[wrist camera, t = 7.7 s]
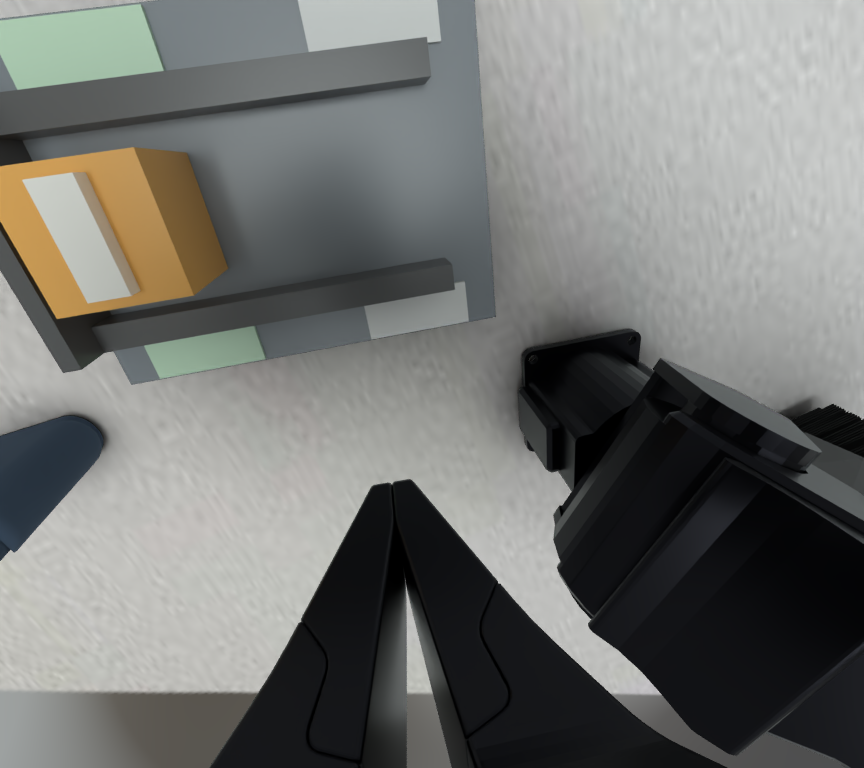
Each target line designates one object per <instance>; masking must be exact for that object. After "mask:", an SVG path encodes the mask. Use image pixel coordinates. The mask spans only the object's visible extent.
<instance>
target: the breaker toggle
mask: <svg viewBox="0 0 864 768" xmlns="http://www.w3.org/2000/svg"><path fill="white" fill-rule="evenodd" d="M0 222H1V223H2V225H3V227H4V229H5V230H6V232H7V234H8V236H9V237H10V239H11V241H12V242H13V244H14V246H15V248H16V249H17V251H18V253H19V255H20V256H21V258H22V260H23V261H24V263H25V265H26V267H27V268H28V270H29V272H30V273H31V275H32V277H33V279H34V280H35V282H36V284H37V286H38V287H39V289H40V291H41V292H42V294H43V296H44V298H45V299H46V301H47V303H48V305H49V306H50V308H51V310H52V311H53V313H54V315H55V317H56V318H57V319H60V318H66V317H72V316H78V315H84V314H89V313H95V312H101V311H107V310H113V309H118V308H124V307H130V306H136V305H142V304H148V303H153V302H159V301H165V300H171V299H177V298H182V297H188V296H194V295H195V294H197V293H198V292H199V291H200V290H202V289H203V288H204V287H205V286H207V285H208V284H209V283H211V282H212V281H213V280H214V279H216V278H217V277H218V276H220V275H221V274H222V273H223V272H225V271H226V270H227V269H228V266H227V263H226V261H225V258H224V255H223V252H222V249H221V247H220V244H219V241H218V238H217V235H216V233H215V230H214V227H213V224H212V222H211V219H210V216H209V213H208V210H207V208H206V205H205V202H204V199H203V196H202V194H201V191H200V188H199V185H198V182H197V180H196V177H195V174H194V171H193V168H192V166H191V163H190V160H189V157H188V155H187V153H186V152H176V151H166V150H156V149H146V148H136V147H131V148H124V149H117V150H110V151H103V152H96V153H89V154H82V155H75V156H68V157H61V158H54V159H47V160H40V161H33V162H26V163H19V164H12V165H5V166H0Z"/></svg>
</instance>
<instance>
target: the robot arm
mask: <svg viewBox="0 0 864 768" xmlns="http://www.w3.org/2000/svg"><path fill="white" fill-rule="evenodd" d="M631 336H632V339H631V340H630V341H629V342H628V339H629V338H630V337H631ZM640 342H641V335H640V334H639V333H638V332H636V331H635V330H633V329H627V330H622V331H616V332H611V333H606V334H601V335H596V336H591V337H585V338H580V339H575V340H570V341H565V342H560V343H554V344H549V345H544V346H539V347H534V348H530V349H527V350H526V351H525V352H524V353H523V354H522V383H523V387H521V388H520V389H519V391H518V402H519V424H520V429H521V431H522V432H523V434H524V435H525V445H526V446H527V448H528V449H529V450H530V451H535V453H536V454H537V456H538V457H539V459H540V460H541V462H542V464H543V465H544V467H545V468H546V470H548V471H549V472H551V473H552V472H556V471H558V472H559V473H560V475H561V476H562V478H563V479H564V481H565V482H566V484H567V485H568V487H569V488H570V490H571V491H572V492H571V494H570V495H569V497H568V498H567V500H566V501H565V502H564V504H563V505H562V506H559V507H558V509H557V510H556V512H555V513H554V515H553V516H554V521H555V530H554V539H553V540H554V543H555V546H556V550H557V553H558V556H559V559H560V563H559V564H558V566H557V569H558V572H559V575H560V577H561V578H562V580H563V581H564V583H565V585H566V586H567V588H568V589H569V591H570V593H571V595H572V597H573V598H574V599H575V601H576V602H577V604H578V605H579V607H580V608H581V609H582V610H583V611H584V612H585V613H586V614H587V615H588V617H589V618H590V619H591V620H590V622H589V623H588V626H589V628H590V630H591V631H592V632H593V633H595V634H596V635H598V636H599V637H600V638H602V639H603V640H605V641H606V642H607V643H609V644H610V645H612V646H613V647H614V648H616V649H617V650H619V651H620V652H621V653H622V654H623V655H624V656H625V657H626V658H627V659H628V660H629V661H630V662H632V663H633V664H634V665H635V666H636V667H637V668H638V669H639V670H640V671H641V672H642V673H643V674H644V675H645V676H646V677H647V678H648V679H649V681H650V682H651V683H652V684H653V685H654V686H655V687H656V688H657V690H658V691H659V692H660V693H661V694H662V696H663V697H664V698H665V699H666V700H667V701H668V703H669V704H670V705H671V706H672V707H673V709H674V710H675V711H676V712H677V713H678V714H679V716H680V717H681V718H682V719H683V720H684V722H685V723H686V724H687V725H688V726H689V727H690V729H691V730H693V731H694V732H695V733H697V734H698V735H700V736H702V737H703V738H705V739H706V740H708V741H709V742H711V743H712V744H714V745H716V746H717V747H718V748H720V749H722V750H723V751H725V752H726V753H728V754H731V755H739V754H740V753H742V752H743V751H744V750H746V749H747V748H748V747H749V746H750V745H752V744H753V743H754V742H755V741H757V740H758V739H759V738H760V737H761V736H763V735H764V734H765V733H767V734H769V735H771V736H774V737H776V738H779V739H781V740H784V741H786V742H789V743H792V744H794V745H797V746H799V747H802V748H804V749H806V750H809V751H812V752H814V753H817V754H819V755H822V756H824V757H827V758H829V759H832V760H834V761H836V762H838V763H840V764H841V765H842V766H844V767H845V768H864V496H863V495H862V494H861V493H859V492H858V491H857V490H855V489H853V488H851V487H850V486H848V485H846V484H845V483H843V482H841V481H840V480H838V479H836V478H834V477H833V476H831V475H829V474H828V473H826V472H824V471H823V470H821V469H819V468H817V467H816V466H814V465H812V463H813V462H814V461H815V459H816V458H817V457H818V456H819V455H820V454H821V453H822V451H821V450H820V449H819V448H818V447H817V446H816V445H815V444H814V443H813V442H812V441H811V440H810V439H809V438H808V437H807V436H806V435H805V434H804V433H803V432H802V431H801V430H800V429H799V428H798V427H797V426H796V425H795V424H794V423H793V422H792V421H791V420H790V419H788V418H786V417H785V416H783V415H781V414H779V413H777V412H775V411H774V410H772V409H770V408H768V407H766V406H764V405H763V404H761V403H759V402H757V401H755V400H753V399H752V398H750V397H748V396H746V395H744V394H742V393H740V392H739V391H737V390H734V389H732V388H730V387H727V386H725V385H723V384H720V383H718V382H716V381H713V380H711V379H709V378H706V377H704V376H702V375H699V374H697V373H695V372H692V371H690V370H688V369H685V368H683V367H681V366H678V365H676V364H674V363H671V362H669V361H667V360H664V359H662V358H660V359H659V361H658V362H657V364H656V365H655V367H654V368H653V370H654V371H653V370H651V369H650V368H648V367H647V366H645V365H644V364H642V363H641V362H639V351H640ZM533 355H535V358H534V360H532V361H529V358H530V357H531V356H533ZM405 580H406V583H405ZM406 586H407V591H408V596H409V600H410V604H411V608H412V612H413V616H414V620H415V624H416V628H417V632H418V636H419V640H420V644H421V648H422V652H423V656H424V660H425V664H426V668H427V672H428V676H429V680H430V684H431V688H432V692H433V695H434V700H435V703H436V707H437V711H438V715H439V719H440V723H441V727H442V731H443V735H444V739H445V743H446V747H447V751H448V755H449V759H450V763H451V767H452V768H727V767H725V766H723V765H721V764H719V763H716V762H714V761H712V760H710V759H708V758H706V757H704V756H702V755H700V754H698V753H696V752H693V751H691V750H689V749H687V748H685V747H683V746H681V745H679V744H677V743H675V742H673V741H671V740H669V739H668V738H666V737H664V736H663V735H661V734H659V733H658V732H656V731H655V730H653V729H652V728H650V727H649V726H647V725H646V724H645V723H643V722H642V721H641V720H640V719H638V718H637V717H636V716H635V715H633V714H632V713H631V712H630V711H629V710H628V709H627V708H625V707H624V706H623V705H622V704H621V703H620V702H619V701H618V700H616V699H615V698H614V697H613V696H612V695H611V694H610V693H609V692H608V691H607V690H606V689H605V688H604V687H603V686H601V685H600V684H599V683H598V682H597V681H596V680H595V679H594V678H593V677H592V676H591V675H590V674H589V673H587V672H586V671H585V670H584V669H583V668H582V667H581V666H580V665H579V664H578V663H577V662H576V661H575V660H573V659H572V658H571V657H570V656H569V655H568V654H567V653H566V652H565V651H564V650H563V649H562V648H561V647H559V646H558V645H557V644H556V643H555V642H554V641H553V640H552V639H551V638H550V637H549V636H548V635H547V634H546V633H545V632H544V631H543V630H542V629H541V628H540V627H539V626H538V625H537V624H536V623H535V622H534V621H533V620H532V619H531V618H530V617H529V616H528V615H527V614H526V613H525V611H524V610H523V609H522V608H521V607H520V606H519V605H518V604H517V603H516V602H515V600H514V599H513V598H512V597H511V596H510V595H509V594H508V592H507V591H506V590H505V589H504V588H503V586H502V585H501V584H498V581H497V580H496V578H495V577H494V576H493V575H492V574H491V573H490V571H489V570H488V569H487V568H486V567H485V565H484V564H483V563H482V562H481V561H480V560H479V558H478V557H477V556H476V555H475V554H474V552H473V551H472V550H471V549H470V548H469V547H468V545H467V544H466V543H465V542H464V541H463V539H462V538H461V537H460V536H459V535H458V534H457V532H456V531H455V530H454V529H453V528H452V527H451V525H450V524H449V523H448V522H447V521H446V519H445V518H444V517H443V516H442V515H441V514H440V512H439V511H438V510H437V509H436V508H435V506H434V505H433V504H432V503H431V502H430V501H429V499H428V498H427V497H426V496H425V495H424V493H423V492H422V491H421V490H420V489H419V488H418V486H417V485H416V484H415V483H414V482H413V481H412V480H411V479H407V480H401V481H395V482H394V483H393V484H391V483H383V484H377V485H373V486H372V487H371V489H370V490H369V492H368V494H367V496H366V498H365V500H364V502H363V504H362V505H361V507H360V509H359V511H358V513H357V515H356V517H355V519H354V520H353V522H352V524H351V526H350V528H349V530H348V532H347V534H346V535H345V537H344V539H343V541H342V543H341V545H340V547H339V549H338V550H337V552H336V554H335V556H334V558H333V560H332V562H331V564H330V566H329V567H328V569H327V571H326V573H325V575H324V577H323V579H322V581H321V582H320V584H319V586H318V588H317V590H316V592H315V594H314V596H313V597H312V599H311V601H310V603H309V605H308V607H307V609H306V611H305V612H304V614H303V616H302V618H301V622H300V623H298V625H297V627H296V629H295V631H294V633H293V635H292V636H291V638H290V640H289V642H288V644H287V646H286V647H285V649H284V651H283V653H282V654H281V656H280V658H279V660H278V662H277V663H276V665H275V667H274V669H273V670H272V672H271V674H270V675H269V677H268V678H267V680H266V682H265V683H264V685H263V686H262V688H261V689H260V691H259V693H258V694H257V696H256V697H255V699H254V700H253V702H252V704H251V706H250V707H249V708H248V710H247V711H246V713H245V714H244V716H243V717H242V719H241V720H240V722H239V724H238V725H237V726H236V728H235V729H234V731H233V732H232V734H231V736H230V737H229V738H228V740H227V741H226V743H225V744H224V746H223V747H222V749H221V750H220V752H219V753H218V755H217V757H216V758H215V760H214V761H213V763H212V764H211V766H210V767H209V768H407V627H406Z"/></svg>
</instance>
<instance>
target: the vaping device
mask: <svg viewBox="0 0 864 768" xmlns="http://www.w3.org/2000/svg"><path fill="white" fill-rule="evenodd" d="M102 447H103V437H102V435H101V433H100V431H99V430H98V429H97V428H96V427H95V426H94V425H93V424H92V423H90V422H89V421H87V420H85V419H83V418H80V417H76V416H64V417H60V418H57V419H54V420H50V421H47V422H44V423H41V424H38V425H34V426H31V427H28V428H25V429H22V430H19V431H15V432H12V433H9V434H6V435H3V436H0V561H1V560H2V559H3V557H4V556H5V555H6V554H7V553H8V552H9V551H10V550H12V551H13V552H16V551H17V550H18V549H19V548H20V547H21V545H22V544H23V543H24V542H25V541H26V540H27V539H28V538H29V536H30V535H31V534H32V533H33V532H34V531H35V530H36V528H37V527H38V526H39V525H40V524H41V523H42V522H43V521H44V519H45V518H46V517H47V516H48V515H49V514H50V513H51V512H52V510H53V509H54V508H55V507H56V506H57V505H58V504H59V503H60V501H61V500H62V499H63V498H64V497H65V496H66V495H67V493H68V492H69V491H70V490H71V489H72V488H73V487H74V486H75V484H76V483H77V482H78V481H79V480H80V479H81V478H82V477H83V475H84V474H85V473H86V472H87V471H88V470H89V469H90V467H91V466H92V465H93V464H94V463H95V462H96V461H97V459H98V458H99V456H100V454H101V449H102Z"/></svg>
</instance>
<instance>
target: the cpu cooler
mask: <svg viewBox="0 0 864 768" xmlns="http://www.w3.org/2000/svg"><path fill="white" fill-rule="evenodd" d="M792 422H793V423H794V424H795V425H796V426H797V427H798V428H799V429H800V430H801V431H802V432H803V433H804V434H805V435H806V436H807V437H808V438H809V439H810V440H811V441H812V442H813V443H814V444H815V445H816V446H817V447H818V448H819V449H820V450H821V451H822V453H821V454H820V455H819V456H818V457H817V458H816V459H815V461H814V462H813V463H812V465H814V466H816V467H817V468H819V469H821V470H823V471H824V472H826V473H828V474H829V475H831V476H833V477H834V478H836V479H838V480H840V481H841V482H843V483H845V484H846V485H848V486H850V487H851V488H853V489H855V490H857V491H858V492H859V493H861V494H862V495H863V496H864V419H863V420H861V418H860V417H859V416H858V417H857V415H855V414H852V413H851V412H850V413H848V412H846V410H845V411H844V409H841V407H840V408H839V406H837V407H836V405H834V404H831V405H829V406H827V407H825V408H823V409H821V408H817V409H815V410H813V411H811V412H809V413H807V414H804V415H802V416H800V417H798V418H796V419H794V420H792Z"/></svg>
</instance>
